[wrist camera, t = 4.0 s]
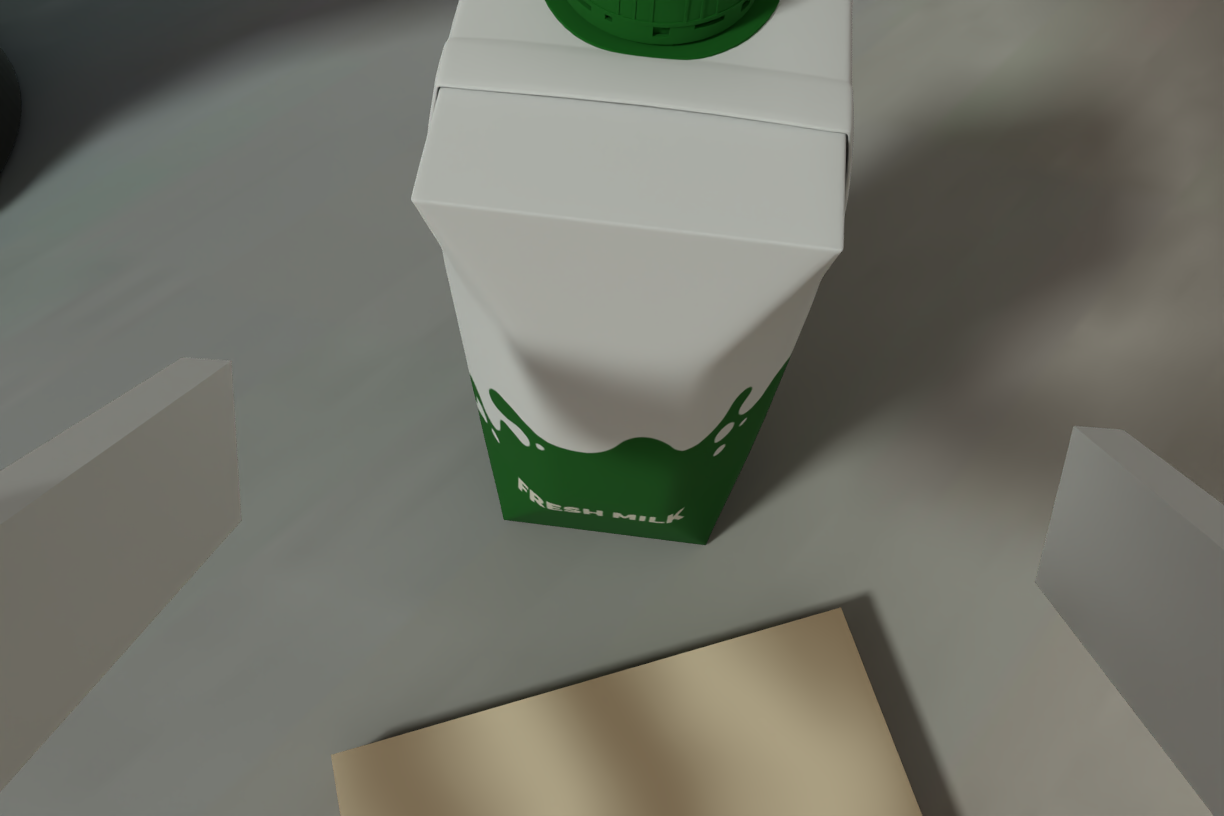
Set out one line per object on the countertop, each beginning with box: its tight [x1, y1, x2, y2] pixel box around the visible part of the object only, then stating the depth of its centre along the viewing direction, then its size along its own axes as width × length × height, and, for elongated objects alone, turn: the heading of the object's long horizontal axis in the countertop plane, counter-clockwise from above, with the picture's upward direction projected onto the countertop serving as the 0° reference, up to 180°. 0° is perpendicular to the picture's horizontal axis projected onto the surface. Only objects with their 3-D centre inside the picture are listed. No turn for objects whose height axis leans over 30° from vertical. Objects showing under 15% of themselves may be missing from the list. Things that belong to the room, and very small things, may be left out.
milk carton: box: [411, 0, 854, 545], centre depth 25 cm, size 9×9×20 cm
